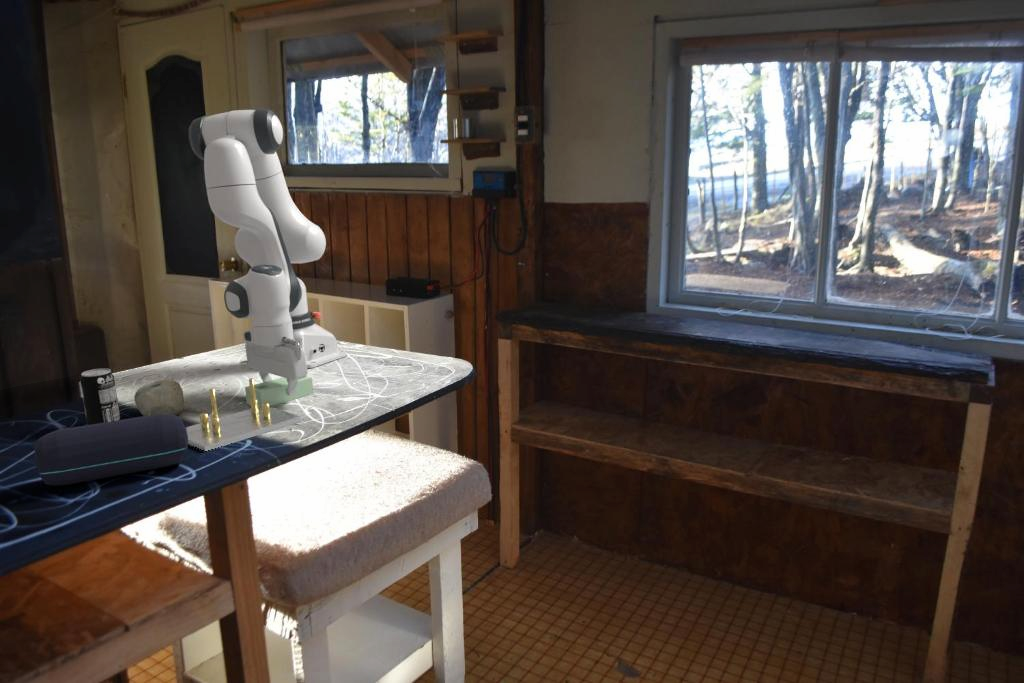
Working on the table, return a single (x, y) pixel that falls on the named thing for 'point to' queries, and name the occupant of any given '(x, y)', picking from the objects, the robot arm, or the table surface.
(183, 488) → the table surface
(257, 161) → the robot arm
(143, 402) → the stone
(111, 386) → the beverage can
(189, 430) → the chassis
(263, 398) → the board
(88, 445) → the portable speaker
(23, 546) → the table surface
